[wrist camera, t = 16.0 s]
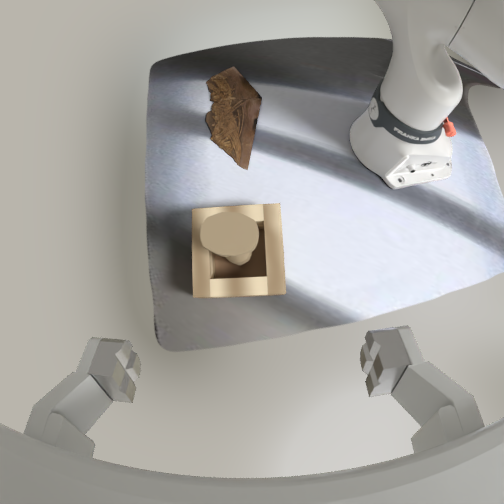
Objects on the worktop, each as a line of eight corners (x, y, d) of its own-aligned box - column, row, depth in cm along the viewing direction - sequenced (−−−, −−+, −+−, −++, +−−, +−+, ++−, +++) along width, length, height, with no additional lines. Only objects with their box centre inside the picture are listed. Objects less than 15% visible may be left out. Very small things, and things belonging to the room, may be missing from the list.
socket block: (278, 214, 49) (280, 203, 43) (283, 294, 47) (285, 293, 41) (199, 219, 49) (192, 208, 44) (201, 298, 47) (193, 297, 42)
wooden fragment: (206, 71, 56) (205, 68, 55) (257, 66, 55) (257, 62, 54) (207, 174, 51) (206, 171, 50) (270, 168, 51) (270, 165, 50)
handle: (221, 239, 48) (202, 210, 33) (262, 241, 48) (260, 213, 33) (219, 269, 47) (197, 253, 33) (259, 272, 47) (256, 257, 32)
